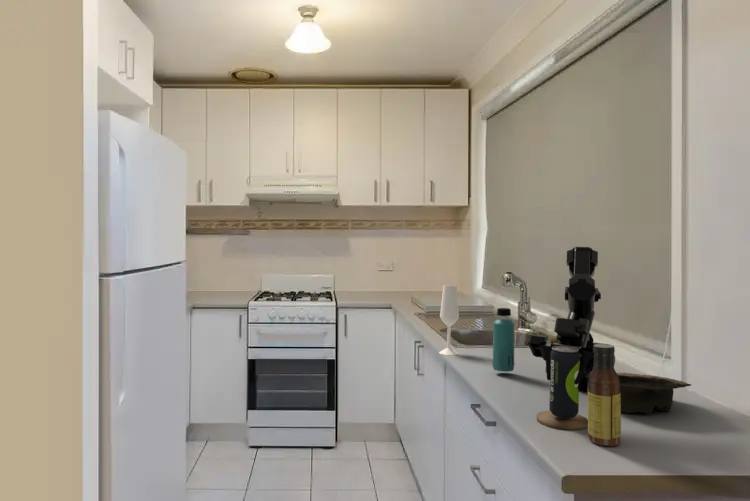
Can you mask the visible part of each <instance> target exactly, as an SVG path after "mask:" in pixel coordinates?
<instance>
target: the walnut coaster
mask: <svg viewBox="0 0 750 501" xmlns="http://www.w3.org/2000/svg"><path fill="white" fill-rule="evenodd" d="M536 421H537V422H538V423H539V424H541V425H542V426H546V427H548V428H551V429H557V430H564V431H565V430H566V431H578V430H583V429H586V428H588V418H587V417H585V416H583V415H581V414H579V413H578V414H577V415H576V416H575V417H573V418H562V417H558V416H555V415H553V414H552V413H551V411H550V410H544V411H541V412H538V413H537V414H536Z"/></svg>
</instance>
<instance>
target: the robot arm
mask: <svg viewBox="0 0 750 501" xmlns="http://www.w3.org/2000/svg"><path fill="white" fill-rule="evenodd" d="M598 264H599V251H597V250H594V249H593V248H592V247H590V246H575V247H573V248H571V249H569V250H567V251H566V266H568V273H569V275H570V278H569V279H568V286H565V288H564V301H566V302H567V304H568V306H567V307H568V310H569V311H568V314H567V317H566V318H565V317H556V318H555V325H554V330H553V332H554V333H556V336H557V337H556V338H557V340H559V341H560V342H559V344H558V343H553V342H552V341H549V340H548V338H549V337H548V336H546V335H538V334H532V335H530V336H529V338H528V341H527V345H528V347H529V349H530V351H531V354H532V356H534V357H536V358H542V360H544V361H545V369H546V372H545V373H546V379H547V381H550V363H551V351H552V350H553V349H552V347H554V346H571V347H575V348H578V349H579V351H578V352H579V354H580V367H579V372H578V375H577V378H576V380H575V381H574V383H575V384H576V385H577V384H578V383H579V391H582V392H583V391H584V392H588V382H589V378H588V377H585V376H586V375H587V374H589V373H590V372H591V371H592V370H593V367H594V352H593V345H595V344H604V343H601V342H594V337H593V335H592V334H591V329H592V325H593V323H594V322H593V321H594V318H595V313H596V312H595V310H594V309H595V303H598V302H599V300H601V297H602V293H601V292H600V290H599V288H598V287H596V280H595V279H594V278H593V276H594V275H595V270H596V268H598ZM608 344H609V343H608ZM609 345H611V343H610V344H609ZM613 358H614V359H613V360H614V365H615V364H616V356H615V353H614V354H613Z"/></svg>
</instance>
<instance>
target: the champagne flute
mask: <svg viewBox="0 0 750 501" xmlns="http://www.w3.org/2000/svg"><path fill="white" fill-rule="evenodd" d="M441 294H442V296H441V305H440V309H439V310H440V312H439V318H440V320H441V322H442V323H444V324H445V325H446V326H447V332H446V334H447V335H446V336H447V338H446V348H443V349H442V350H441V351H439V352H438V353H439V354H440V355H445V356H456V355H458V354H459V353H458V351H456V350H454V349H453V348H451V340H452V338H451V337H452V336H451V335H452V333H451V332H452V331H451V330H452V329H451V328H452V326H454V324H456V323H457V321H458V320H459V319H460V314H459V300H458V299H459V297H458V286H457V285H454V284H453V285H452V284H451V285H450V284H444V285H443V286H442V293H441Z"/></svg>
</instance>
